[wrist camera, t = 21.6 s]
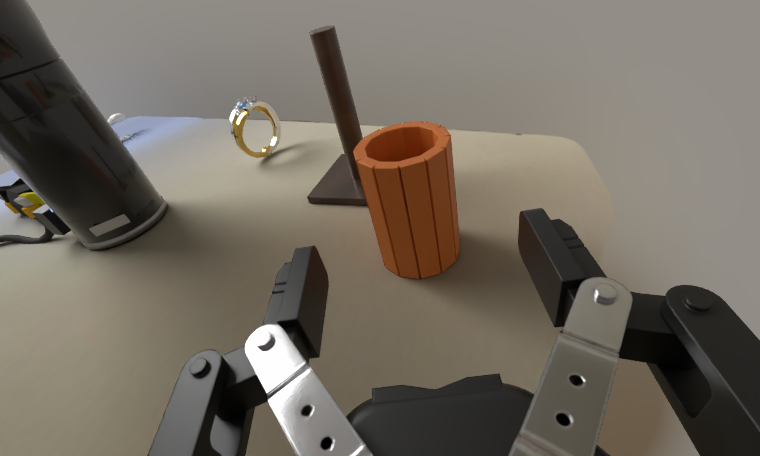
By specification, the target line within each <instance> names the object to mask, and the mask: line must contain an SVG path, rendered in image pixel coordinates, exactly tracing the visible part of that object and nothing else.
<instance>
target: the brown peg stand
mask: <svg viewBox="0 0 760 456" xmlns="http://www.w3.org/2000/svg"><path fill="white" fill-rule="evenodd" d="M309 34H310V37H311V41H312V44H313V47H314V51H315V54H316V57H317V61H318V64H319V68H320V71H321V75H322V78H323V81H324V85H325V88H326V92H327V95H328V98H329V102H330V105H331V109H332V112H333V115H334V119H335V122H336V126H337V129H338V132H339V136H340V139H341V143H342V146H343V149H344V153H345V154H341V156H340V157H339V158H338V159H337V160H336V162H335V163H334V164H333V165H332V167H331V168H330V169H329V170H328V172H327V173H326V174H325V175H324V177H323V178H322V179H321V180H320V182H319V183H318V184H317V185H316V187H315V188H314V189H313V190H312V192H311V193H310V194H309V195H308V197H307V198H308V200H309V203H323V204H347V205H368V204H367V200H366V196H365V193H364V189H363V186H362V182H361V178H360V175H359V171H358V167H357V164H356V160H355V157H354V153H353V151H354V149H355V147H356V146H357V145H358V143H359V142H360V141H361V140H362V139H363V137H362V133H361V129H360V125H359V121H358V118H357V113H356V109H355V106H354V101H353V98H352V94H351V90H350V86H349V82H348V78H347V74H346V70H345V66H344V62H343V58H342V54H341V50H340V46H339V42H338V38H337V34H336V30H335V27H334V26H326V27H321V28H318V29H315V30H313V31H311V32H309Z"/></svg>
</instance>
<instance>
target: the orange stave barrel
mask: <svg viewBox="0 0 760 456" xmlns="http://www.w3.org/2000/svg"><path fill="white" fill-rule="evenodd" d="M353 153H354V157H355V160H356V164H357V167H358V171H359V175H360V178H361V182H362V186H363V189H364V193H365V196H366V200H367V204H368V207H369V211H370V214H371V218H372V222H373V225H374V229H375V232H376V236H377V240H378V243H379V247H380V251H381V254H382V258H383V261H384V265H385V266H386V267H387V268H388V269H389V270H391V271H392V272H394V273H395V274H396V275H398V276H399V275H400V276H401V277H408V278H416V279H419V277H421V279H423V278H427V277H430V276H434V275H438V274H441V272H444V271H445V270H446V269H447V268H448V267H450V266H451V265H452V264H453V263H454V262H455V261H456V259H457V257H458V253H459V249H460V239H459V227H458V215H457V203H456V191H455V180H454V168H453V156H452V144H451V135H450V134H449V133H448V131H447V130H446V129H445V128H444V127H442V126H441V125H437V124H433V123H429V122H425V123H424V122H407V123H406V122H405V123H403V124H401V123H400V124H396V125H392V126H389V127H385V128H382V130H380V129H379V130H377V131H375V132H373V133H371V134H370V135H368V136H366V137H364V139H362V140H361V141H360V142H359V143H358V145H357V146H356V147H355V149H354V151H353ZM440 271H441V272H440Z"/></svg>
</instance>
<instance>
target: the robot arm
mask: <svg viewBox="0 0 760 456" xmlns="http://www.w3.org/2000/svg"><path fill="white" fill-rule="evenodd" d="M0 157H1V158H2V159H3V160H4V162H5V163H6V164H7V165H8V166H9V167H10V168H11V169H12V170H13V171H14V172H15V173H16V174H17V175H18V176H19V177H20V178H21V179H22V180H23V181H24V182H25V183H26V184H27V185H28V186H29V187H30V188H31V189H32V190H33V191H34V192H35V193H36V195H37V196H38V197H39V198H40V199H41V200H42V201H43V202H44V203H45V205H43V206H41V207H40V208H38V209H36V210H35V211H33V212H32V214H33V215H34V216H35V217H36V218H37V219H38V220H39V221H40V222H41V223H42V224H43V225H44V226H45V234H44V235H43V236H41V237H40V238H30V237H24V236H19V235H2V236H0V242H6V241H14V242H21V243H27V244H37V243H43V242H46V241H49V240H50V239H51V238H52V237H53V235H54V234H58V235H65V234H66V233H68V232H69V231H72V232H73V233H74V234H75V235H76V236H77V237H78V238H79V240H80V242H81V243H82V244H83V245H84V246H85V247H86V248H88V249H94V250H97V249H105V248H109V247H113V246H116V245H118V244H121V243H123V242H126V241H128V240H130V239H132V238H134V237H136V236H138V235H139V234H141V233H143V232H144V231H146V230H147V229H149V228H150V227H151V226H153V225H154V224H155V223H156V222H157V221H158V220H159V219H160V218H161V217H162V216H163V215H164V213H165V211H166V209H167V203H166V202H165V200H164V199H163V198H162V196H160V195H159V193H158V192H157V191H156V189H155V188H154V186H153V185H152V184H151V182H150V181H149V179H148V178H147V176H146V175H145V174H144V172H143V171H142V169H141V168H140V167H139V165H138V164H137V162H136V161H135V160H134V158H133V157H132V155H131V154H130V153H129V151H128V150H127V148H126V147H125V146H124V144H123V143H122V141H121V140H120V139H119V137H118V136H117V134H116V133H115V132H114V130H113V129H112V128H111V126H110V125H109V123H108V122H107V121H106V119H105V118H104V116H103V115H102V114H101V112H100V111H99V109H98V108H97V107H96V105H95V104H94V103H93V101H92V100H91V98H90V97H89V95H88V94H87V93H86V91H85V90H84V89H83V87H82V86H81V85H80V83H79V82H78V80H77V79H76V78H75V76H74V75H73V73H72V72H71V71H70V69H69V68H68V66H67V65H66V64H65V62H64V61H63V59H62V58H60V55H59V53H58V52H57V50H56V49H55V48H54V46H53V45H52V43H51V42H50V40H49V38H48V36H47V34H46V32H45V31H44V29H43V27H42V25H41V23H40V21H39V19H38V18H37V16H36V14H35V13H34V11H33V10H32V8H31V7H30V5H29V4H28V2H27V1H26V0H0ZM518 246H519V251H520V255H521V258H522V260H523V262H524V264H525V266H526V268H527V270H528V272H529V275H530V277H531V279H532V281H533V283H534V285H535V287H536V289H537V291H538V293H539V296H540V298H541V300H542V302H543V304H544V306H545V308H546V310H547V312H548V315H549V317H550V319H551V321H552V323H553V325H554V327H563V326H564V327H563V330H562V332H561V331H560V332H559V334H558V336H557V339H556V341H555V344H554V346H553V349H552V351H551V354H550V356H549V359H548V361H547V364H546V367H545V369H544V372H543V374H542V377H541V379H540V382H539V384H538V387H537V389H536V392H535V394H533V393H531V392H529V391H527V390H525V389H522V388H520V387H517V386H514V385H510V384H504V383H502V381H501V378H500V374H491V375H483V376H474V377H467V378H464V379H462V380H459V381H457V382H454V383H451V384H449V385H446V386H444V387H441V388H439V389H427V388H420V387H413V386H406V385H398V386H389V387H381V388H372V399H369V400H367V401H365V402H364V403H362V404H360V405H359V406H357V407H356V408H355V409H354V410H352V411H351V412H350V413H349V414H348V415H347V416H346V417H345V415H344V414H343V412H342V411H341V410H340V408H339V407H338V405H337V404H336V402H335V401H334V400H333V398H332V397H331V395H330V394H329V392H328V391H327V390H326V388H325V387H324V385H323V384H322V382H321V381H320V380H319V378H318V377H317V375H316V374H315V373H314V371H313V370H312V368H311V367H310V366H309V359H310V358H317V357H319V355H320V347H321V340H322V332H323V325H324V317H325V310H326V302H327V295H328V287H329V281H328V275H327V272H326V269H325V267H324V264H323V262H322V260H321V257H320V255H319V253H318V250H317V248H316V247H315V246H309V247H303V248H297V249H295V252H294V255H293V259H292V262H290V263H285V264H284V266H283V267H282V268H281V270H280V271H279V272H278V274H277V277H276V281H275V286H274V288H273V291H272V295H271V298H270V301H269V305H268V308H267V311H266V315H265V318H264V322H263V325H262V327H260V328H258V329H257V330H255V331H254V332H253V333H252V334H251V335H250V337H249V338H248V340H247V342H246V345H244V346H242V347H240V348H238V349H236V350H234V351H231V352H229V353H227V354H224V355H222V356H221V354H220V353H219V352H218V351H216V350H213V349H209V350H204V351H201V352H199V353H197V354H196V355H194V356H193V357H192V358H191V359H189V360H188V361H187V363H186V364H185V365H184V367H183V368H182V370H181V372H180V375H179V377H178V380H177V382H176V385H175V387H174V390H173V392H172V395H171V398H170V400H169V403H168V405H167V408H166V410H165V413H164V415H163V418H162V420H161V423H160V425H159V428H158V430H157V433H156V435H155V438H154V440H153V443H152V445H151V448H150V450H149V453H148V455H147V456H245V454H246V449H247V444H248V439H249V434H250V429H251V424H252V419H253V414H254V409H255V407H256V406H258V405H260V404H262V403H264V402H267V401H268V402H269V404H270V406H271V408H272V410H273V412H274V414H275V416H276V417H277V419H278V421H279V423H280V425H281V427H282V429H283V431H284V433H285V435H286V437H287V438H288V440H289V442H290V444H291V446H292V448H293V450H294V452H295V454H296V456H610V455H609V454H607V453H606V452H605V451H604V450H603V449H601V448H600V447H599V446H598V445H597V442H598V438H599V434H600V430H601V426H602V423H603V418H604V415H605V411H606V407H607V403H608V399H609V396H610V391H611V388H612V384H613V380H614V376H615V372H616V369H617V365H618V361H619V358H622V359H628V360H634V361H640V362H646V363H647V365H648V366H649V368H650V370H651V372H652V373H653V375H654V377H655V379H656V380H657V382H658V384H659V385H660V387H661V389H662V391H663V392H664V394H665V396H666V398H667V399H668V401H669V403H670V405H671V406H672V408H673V410H674V411H675V413H676V415H677V416H678V418H679V420H680V422H681V424H682V425H683V427H684V429H685V430H686V432H687V434H688V436H689V437H690V439H691V441H692V443H693V444H694V446H695V448H696V449H697V451H698V453H699V455H700V456H760V340H759V339H758V338H757V337H756V336H755V335H754V334H753V332H752V331H751V330H750V329H749V328H748V327H747V326H746V325H745V323H744V322H743V321H742V320H741V319H740V318H739V317H738V316H737V315H736V313H735V312H734V311H733V310H732V309H731V308H730V307H729V306H728V304H727V303H726V302H725V301H724V300H723V299H722V298H720V297H719V296H718V295H716V294H715V293H713V292H711V291H709V290H706V289H703V288H701V287H697V286H692V285H680V286H675V287H673V288H671V289H670V290H668V292H667V293H666V296H660V295H650V294H640V293H635V292H630V291H629V290H628V289H627V288H626V287H625V286H624V285H623V284H621V283H619V282H618V281H615V280H613V279H610V278H607V277H606V275H605V274H604V273H603V271H602V270H601V268H600V267H599V265H598V264H597V262H596V261H595V260H594V258H593V257H592V255H591V254H590V253H589V251H588V250H587V248H586V247H584V244H583V243H582V241H581V240H580V239H579V238H578V235H577V234H576V233H575V231H574V230H573V228H572V227H571V226H569V225H568V224H566V223H565V222H563V221H562V220H560V219H556V220H550V218H549V217H548V215H547V214H546V212H545V211H544V209H542V208H538V209H532V210H526V211H521V212H520V216H519V235H518Z"/></svg>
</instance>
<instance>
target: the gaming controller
mask: <svg viewBox="0 0 760 456" xmlns="http://www.w3.org/2000/svg"><path fill="white" fill-rule="evenodd" d="M0 199H2V200H4V201H5V205H6V206H7V207H8V208H10V209H11V210H12V211H13V212H14V213H15V214H16V213H22V214H25V215H27V216H28V217H29V218H30V219H32V218H36V217H35V216H34V215H33V214H32V212H33V211H35V210H36V209H38V208H40V207H41V206H43V205H45V203H44V202H43V201H42V200H41V199H40V198H39V197H38V196H37V195H36V193H35V192H34V191H33V190H32V189H31V188H30V187H29V186H28V185H27V184H26V183H25V182H24V181H23V180H22V179H21V178H19V179H18V180H17V181H16V182H15V183H14V184H12V185H11V186H3V187H0Z"/></svg>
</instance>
